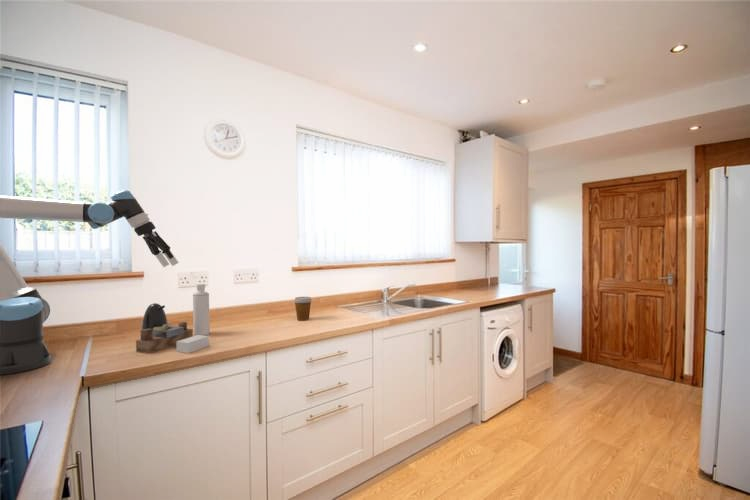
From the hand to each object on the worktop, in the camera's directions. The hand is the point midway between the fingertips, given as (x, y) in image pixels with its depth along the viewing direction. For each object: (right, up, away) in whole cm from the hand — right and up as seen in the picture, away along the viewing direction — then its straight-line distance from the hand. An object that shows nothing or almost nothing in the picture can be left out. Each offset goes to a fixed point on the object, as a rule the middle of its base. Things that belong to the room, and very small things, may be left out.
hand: (171, 265), depth 156 cm
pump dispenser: (-7, -33, -1) cm, 33 cm away
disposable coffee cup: (+54, -32, +31) cm, 70 cm away
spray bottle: (+13, -32, +2) cm, 35 cm away
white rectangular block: (+21, -33, -20) cm, 43 cm away
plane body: (+7, -33, -14) cm, 36 cm away
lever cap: (+7, -28, -15) cm, 32 cm away
